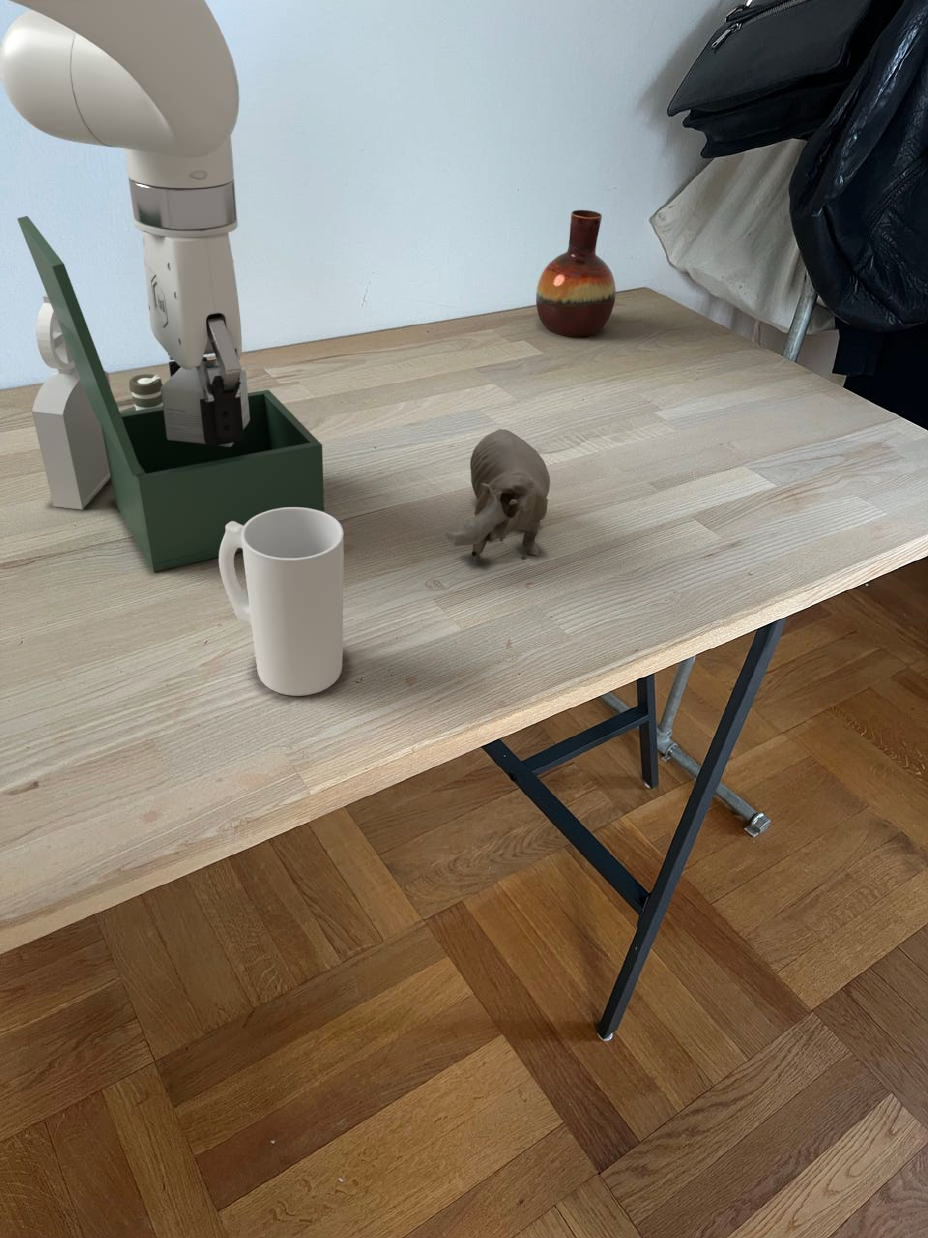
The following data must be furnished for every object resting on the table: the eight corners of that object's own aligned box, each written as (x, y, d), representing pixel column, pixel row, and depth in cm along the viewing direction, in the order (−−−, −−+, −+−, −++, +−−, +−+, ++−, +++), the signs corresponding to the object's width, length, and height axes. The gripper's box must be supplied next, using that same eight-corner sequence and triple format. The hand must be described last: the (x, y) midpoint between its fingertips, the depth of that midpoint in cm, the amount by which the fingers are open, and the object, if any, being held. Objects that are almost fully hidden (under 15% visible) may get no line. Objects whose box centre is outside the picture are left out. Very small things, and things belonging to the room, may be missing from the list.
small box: (251, 421, 82) (247, 368, 80) (231, 449, 78) (226, 394, 75) (188, 414, 83) (182, 361, 80) (165, 442, 78) (157, 386, 75)
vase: (560, 345, 127) (575, 227, 118) (518, 318, 134) (529, 205, 125) (625, 336, 131) (644, 221, 122) (580, 311, 139) (596, 201, 130)
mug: (363, 660, 70) (363, 525, 63) (311, 711, 66) (304, 571, 58) (257, 617, 74) (246, 484, 67) (200, 662, 69) (181, 524, 62)
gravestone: (123, 462, 93) (92, 279, 82) (82, 509, 85) (41, 315, 74) (97, 459, 93) (62, 276, 82) (53, 506, 85) (8, 311, 74)
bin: (274, 471, 93) (268, 389, 88) (325, 532, 85) (322, 444, 80) (115, 503, 86) (99, 416, 81) (153, 572, 78) (138, 479, 73)
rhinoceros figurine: (560, 472, 92) (555, 389, 77) (546, 603, 87) (538, 540, 73) (482, 468, 93) (464, 385, 79) (465, 596, 89) (442, 533, 75)
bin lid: (27, 215, 70) (16, 217, 70) (63, 263, 62) (51, 266, 61) (102, 409, 81) (93, 412, 81) (142, 472, 73) (132, 476, 72)
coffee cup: (74, 415, 100) (65, 371, 97) (177, 390, 107) (171, 349, 104) (123, 457, 93) (115, 412, 91) (229, 429, 100) (225, 385, 97)
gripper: (104, 180, 73) (136, 390, 84) (168, 239, 62) (197, 475, 72) (197, 175, 77) (217, 378, 87) (275, 231, 65) (287, 457, 76)
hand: (208, 421), depth 80 cm, fingers closed on small box, 7 cm apart
